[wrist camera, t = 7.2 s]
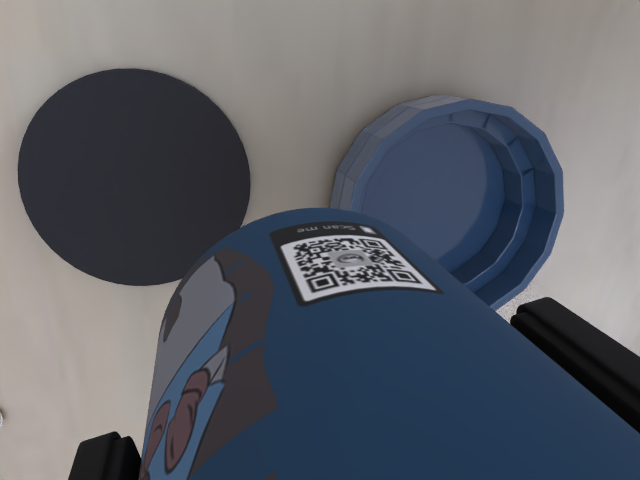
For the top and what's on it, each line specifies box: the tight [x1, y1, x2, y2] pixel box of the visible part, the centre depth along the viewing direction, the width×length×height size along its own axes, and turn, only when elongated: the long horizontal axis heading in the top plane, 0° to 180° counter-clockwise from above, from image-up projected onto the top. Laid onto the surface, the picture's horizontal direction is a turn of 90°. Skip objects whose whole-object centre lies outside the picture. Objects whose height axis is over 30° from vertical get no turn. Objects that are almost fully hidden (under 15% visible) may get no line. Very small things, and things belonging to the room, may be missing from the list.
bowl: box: [329, 95, 564, 311], centre depth 28 cm, size 12×12×4 cm
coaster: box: [18, 69, 250, 286], centre depth 26 cm, size 11×11×1 cm
